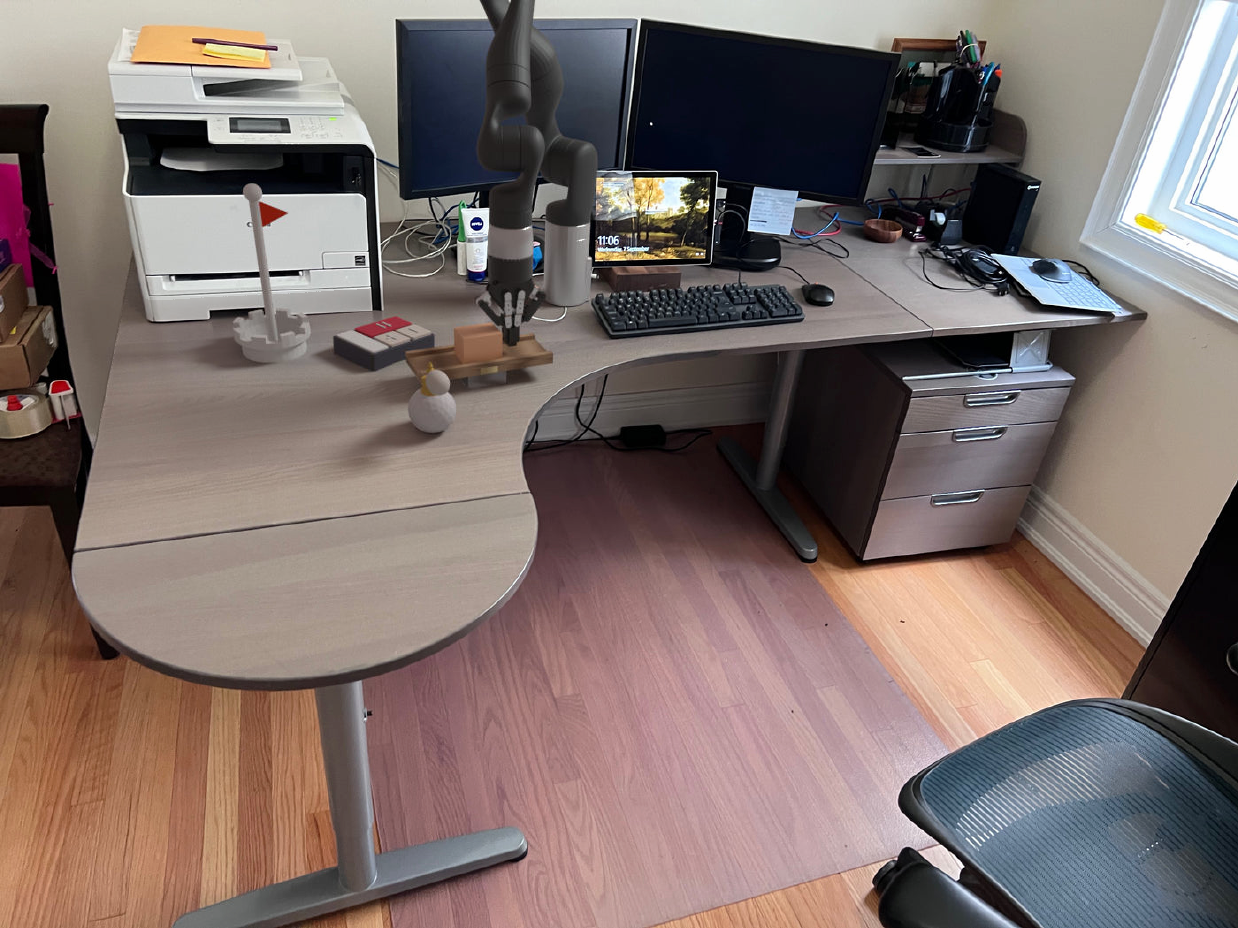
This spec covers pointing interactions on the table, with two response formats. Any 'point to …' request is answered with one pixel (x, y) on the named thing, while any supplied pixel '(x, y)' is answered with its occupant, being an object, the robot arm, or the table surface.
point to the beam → (479, 372)
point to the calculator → (382, 342)
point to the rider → (477, 343)
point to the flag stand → (268, 302)
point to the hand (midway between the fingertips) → (510, 344)
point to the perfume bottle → (432, 403)
